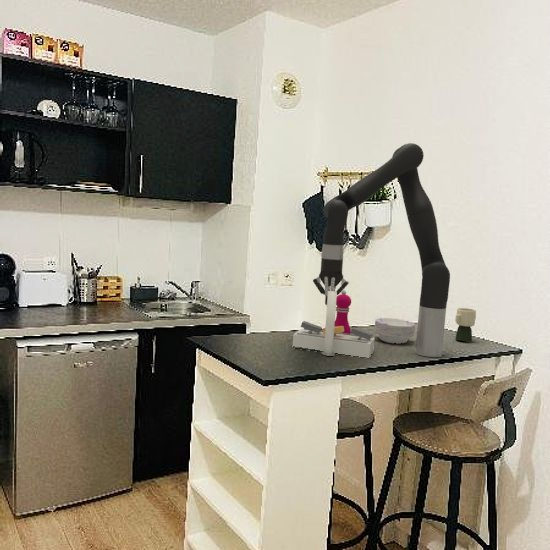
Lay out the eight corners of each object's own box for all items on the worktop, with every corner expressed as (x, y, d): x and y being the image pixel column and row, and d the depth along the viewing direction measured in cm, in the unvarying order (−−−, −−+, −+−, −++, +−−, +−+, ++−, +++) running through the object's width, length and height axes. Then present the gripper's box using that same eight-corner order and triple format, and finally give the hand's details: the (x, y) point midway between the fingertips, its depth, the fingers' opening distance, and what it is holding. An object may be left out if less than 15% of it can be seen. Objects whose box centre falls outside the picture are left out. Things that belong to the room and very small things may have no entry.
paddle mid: (344, 330, 198) (343, 325, 198) (342, 332, 195) (341, 327, 195) (325, 332, 200) (324, 327, 200) (323, 334, 197) (322, 329, 197)
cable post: (335, 354, 192) (340, 291, 189) (332, 357, 187) (337, 293, 185) (323, 353, 193) (327, 290, 190) (320, 355, 189) (324, 291, 186)
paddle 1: (320, 332, 200) (322, 327, 200) (318, 333, 198) (320, 328, 197) (302, 325, 202) (304, 320, 202) (300, 326, 200) (302, 322, 199)
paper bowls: (421, 345, 213) (423, 324, 213) (387, 346, 208) (389, 325, 207) (398, 336, 227) (400, 316, 227) (366, 337, 222) (367, 317, 221)
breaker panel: (373, 351, 199) (374, 336, 198) (368, 358, 189) (370, 342, 188) (301, 341, 208) (302, 326, 207) (292, 348, 197) (293, 332, 196)
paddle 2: (370, 338, 195) (372, 333, 195) (369, 340, 192) (371, 335, 192) (351, 331, 197) (353, 326, 196) (350, 333, 194) (351, 328, 194)
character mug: (465, 338, 230) (469, 307, 229) (479, 342, 224) (483, 310, 223) (447, 340, 225) (450, 308, 224) (460, 344, 219) (463, 311, 217)
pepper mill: (343, 346, 204) (347, 292, 202) (326, 342, 208) (330, 289, 206) (353, 343, 210) (357, 290, 207) (336, 339, 214) (340, 288, 212)
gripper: (353, 258, 197) (349, 306, 199) (316, 255, 201) (313, 303, 203) (348, 259, 189) (345, 310, 191) (311, 256, 194) (308, 306, 196)
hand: (329, 306), depth 197 cm, fingers closed
